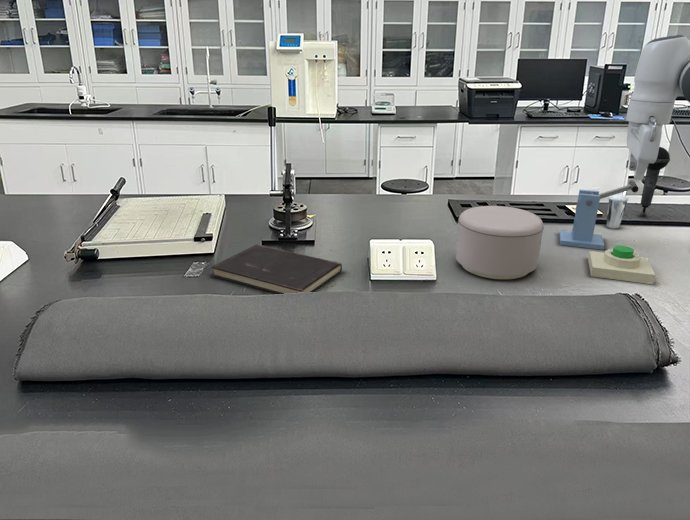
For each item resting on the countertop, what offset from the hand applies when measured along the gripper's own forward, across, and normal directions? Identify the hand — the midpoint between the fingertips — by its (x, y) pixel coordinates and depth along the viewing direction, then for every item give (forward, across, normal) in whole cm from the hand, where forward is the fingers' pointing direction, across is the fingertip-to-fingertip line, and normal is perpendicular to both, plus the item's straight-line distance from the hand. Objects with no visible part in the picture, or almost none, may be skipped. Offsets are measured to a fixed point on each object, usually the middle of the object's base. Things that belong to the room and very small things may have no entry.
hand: (635, 174), depth 124 cm
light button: (+14, -17, +2) cm, 22 cm away
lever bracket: (+18, 0, +9) cm, 20 cm away
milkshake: (+18, +16, 0) cm, 24 cm away
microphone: (+18, +29, -9) cm, 35 cm away
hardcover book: (+19, -44, +72) cm, 86 cm away
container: (+18, -23, +28) cm, 41 cm away
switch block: (+18, -17, +2) cm, 25 cm away
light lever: (+6, 0, +4) cm, 7 cm away
